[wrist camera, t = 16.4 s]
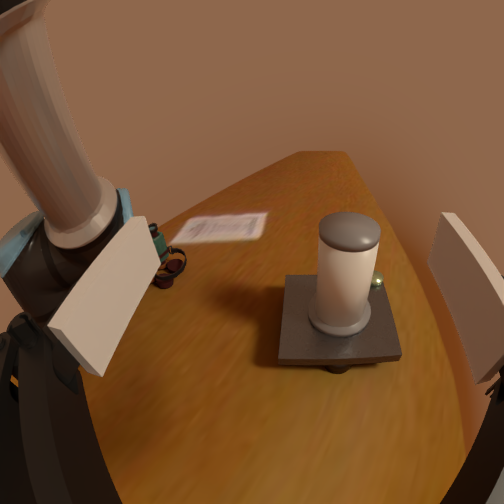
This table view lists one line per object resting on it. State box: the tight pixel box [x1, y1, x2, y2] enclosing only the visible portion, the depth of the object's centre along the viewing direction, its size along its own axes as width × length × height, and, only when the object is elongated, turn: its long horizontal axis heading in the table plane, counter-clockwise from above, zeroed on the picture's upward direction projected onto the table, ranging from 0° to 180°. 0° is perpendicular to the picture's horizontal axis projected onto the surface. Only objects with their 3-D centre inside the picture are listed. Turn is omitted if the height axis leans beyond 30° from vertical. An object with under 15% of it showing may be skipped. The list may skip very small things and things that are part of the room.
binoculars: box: [148, 223, 187, 288], centre depth 52 cm, size 9×11×10 cm
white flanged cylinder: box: [308, 212, 381, 337], centre depth 33 cm, size 9×9×14 cm
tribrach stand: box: [278, 271, 402, 374], centre depth 38 cm, size 16×16×5 cm
